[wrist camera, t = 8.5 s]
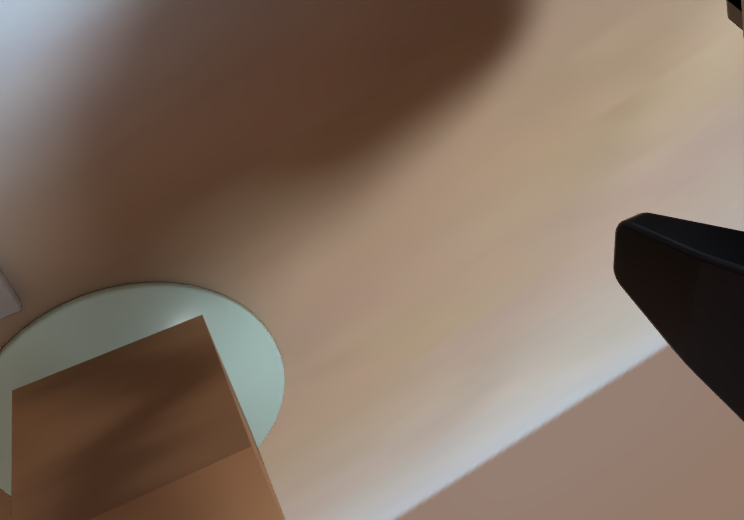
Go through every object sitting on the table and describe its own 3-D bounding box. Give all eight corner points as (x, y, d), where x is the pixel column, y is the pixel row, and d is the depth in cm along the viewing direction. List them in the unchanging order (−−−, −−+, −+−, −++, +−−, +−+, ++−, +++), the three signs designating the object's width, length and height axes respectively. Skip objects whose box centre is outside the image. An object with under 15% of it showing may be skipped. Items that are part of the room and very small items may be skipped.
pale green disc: (237, 236, 22) (241, 242, 21) (307, 435, 28) (310, 442, 27) (-98, 363, 19) (-99, 372, 19) (58, 550, 25) (58, 559, 25)
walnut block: (202, 314, 22) (251, 445, 17) (251, 431, 26) (303, 566, 21) (12, 390, 21) (11, 555, 16) (92, 503, 24) (110, 664, 20)
